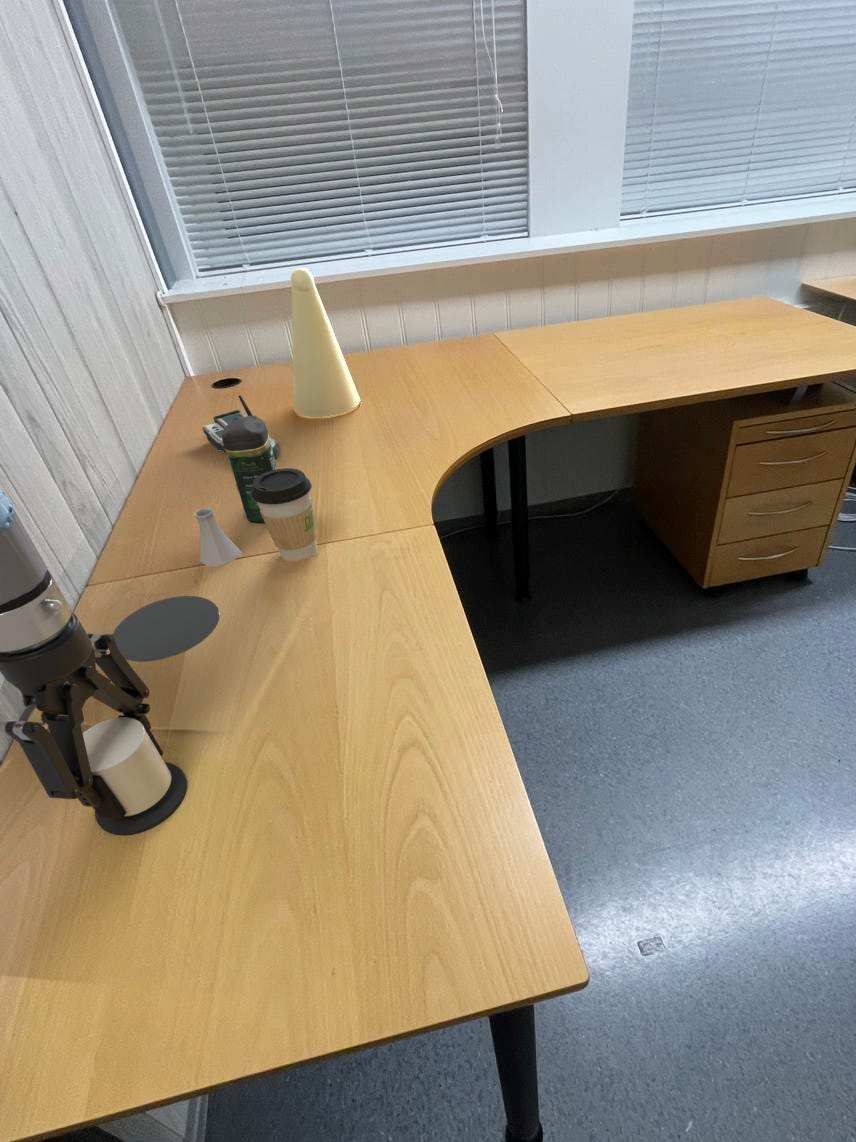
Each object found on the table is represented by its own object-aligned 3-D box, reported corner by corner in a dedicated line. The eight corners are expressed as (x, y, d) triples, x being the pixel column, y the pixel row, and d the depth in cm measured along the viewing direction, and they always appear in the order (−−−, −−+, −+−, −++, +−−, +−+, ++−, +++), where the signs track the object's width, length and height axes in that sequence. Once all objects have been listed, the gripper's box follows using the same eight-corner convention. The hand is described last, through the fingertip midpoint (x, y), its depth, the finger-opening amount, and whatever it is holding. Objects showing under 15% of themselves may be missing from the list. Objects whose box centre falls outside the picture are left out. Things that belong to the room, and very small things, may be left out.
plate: (92, 665, 92) (88, 659, 91) (147, 600, 104) (144, 594, 103) (194, 669, 90) (191, 662, 89) (238, 602, 102) (235, 596, 101)
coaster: (78, 832, 70) (76, 830, 69) (125, 762, 77) (124, 759, 77) (161, 838, 69) (160, 835, 68) (201, 766, 76) (200, 763, 76)
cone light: (293, 399, 176) (259, 256, 153) (357, 391, 179) (333, 249, 156) (294, 431, 158) (256, 274, 135) (366, 422, 160) (340, 266, 138)
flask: (226, 575, 109) (208, 524, 102) (192, 569, 110) (172, 519, 104) (250, 553, 114) (234, 504, 107) (217, 548, 116) (199, 499, 109)
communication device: (243, 473, 141) (231, 435, 135) (204, 442, 155) (192, 406, 149) (291, 456, 146) (282, 420, 140) (249, 428, 161) (239, 393, 155)
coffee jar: (285, 522, 122) (259, 429, 110) (244, 526, 121) (213, 433, 109) (290, 499, 129) (266, 410, 117) (252, 503, 129) (223, 414, 117)
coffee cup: (338, 549, 113) (321, 473, 103) (301, 577, 107) (279, 498, 97) (299, 537, 117) (278, 462, 108) (260, 563, 111) (235, 486, 101)
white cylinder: (87, 814, 69) (52, 770, 64) (123, 760, 75) (94, 715, 70) (151, 818, 69) (120, 773, 63) (183, 763, 74) (157, 718, 69)
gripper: (-11, 714, 48) (114, 868, 63) (128, 567, 64) (203, 718, 79) (-98, 710, 49) (47, 863, 64) (61, 566, 65) (147, 716, 79)
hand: (133, 783), depth 71 cm, fingers closed on white cylinder, 8 cm apart
